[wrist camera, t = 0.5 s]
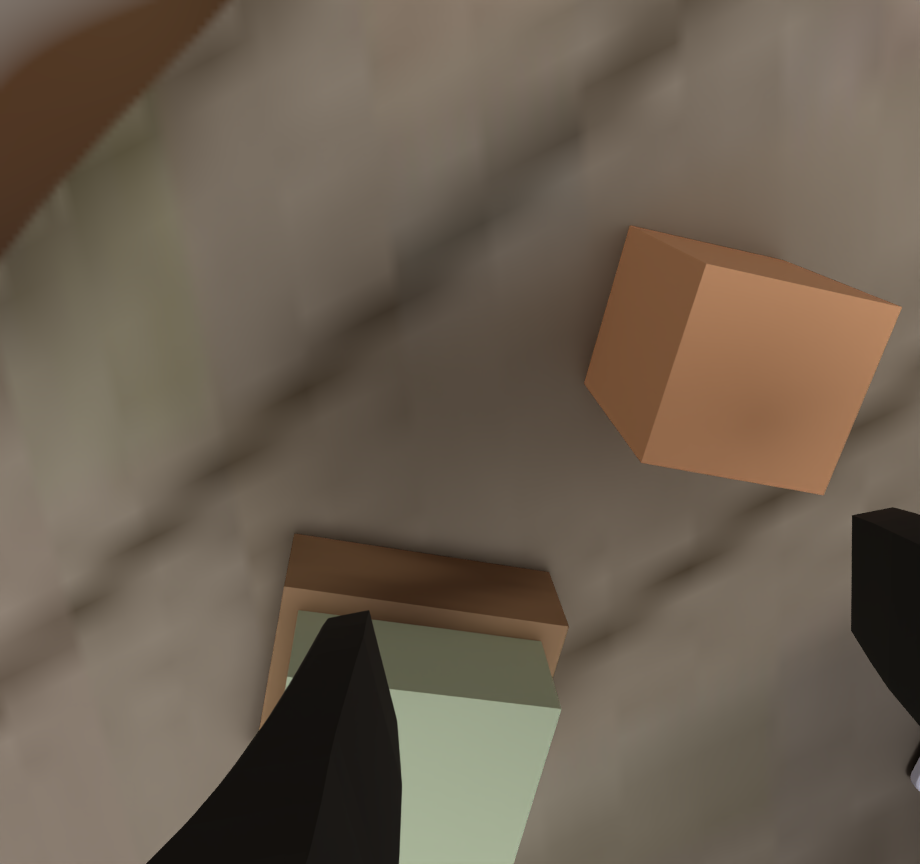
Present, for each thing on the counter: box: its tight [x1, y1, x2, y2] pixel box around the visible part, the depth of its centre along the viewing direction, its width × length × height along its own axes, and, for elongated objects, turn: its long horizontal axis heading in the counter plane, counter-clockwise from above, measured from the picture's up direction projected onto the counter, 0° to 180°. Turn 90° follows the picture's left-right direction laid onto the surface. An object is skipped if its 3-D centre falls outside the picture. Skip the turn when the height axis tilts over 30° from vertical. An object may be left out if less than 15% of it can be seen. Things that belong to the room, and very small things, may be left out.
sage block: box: [285, 610, 561, 864], centre depth 20 cm, size 6×6×2 cm
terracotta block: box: [584, 225, 902, 495], centre depth 18 cm, size 4×4×5 cm
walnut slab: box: [259, 533, 569, 730], centre depth 23 cm, size 7×7×3 cm
